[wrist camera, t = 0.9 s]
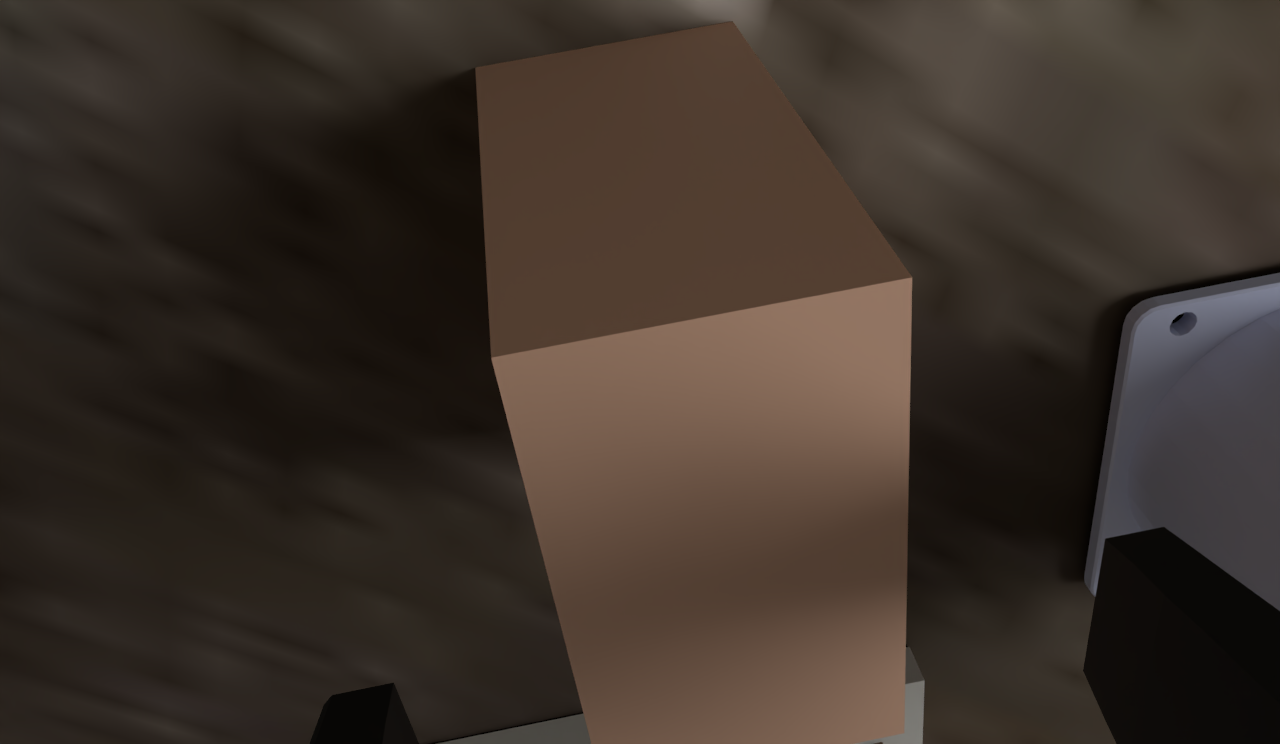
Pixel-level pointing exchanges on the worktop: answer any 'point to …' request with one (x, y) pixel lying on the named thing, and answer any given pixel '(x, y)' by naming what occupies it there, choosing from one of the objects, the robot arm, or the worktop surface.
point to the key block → (700, 393)
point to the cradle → (570, 740)
